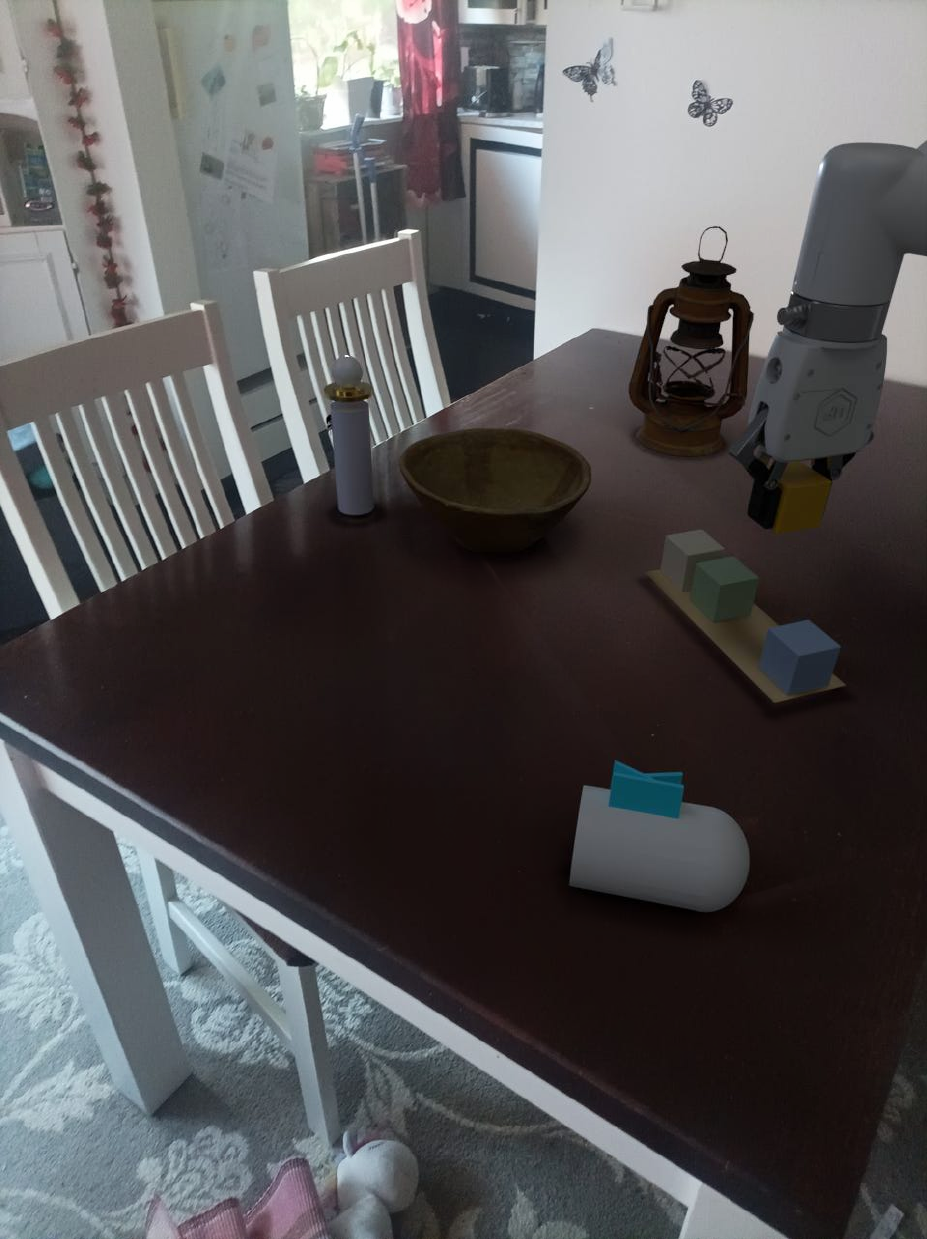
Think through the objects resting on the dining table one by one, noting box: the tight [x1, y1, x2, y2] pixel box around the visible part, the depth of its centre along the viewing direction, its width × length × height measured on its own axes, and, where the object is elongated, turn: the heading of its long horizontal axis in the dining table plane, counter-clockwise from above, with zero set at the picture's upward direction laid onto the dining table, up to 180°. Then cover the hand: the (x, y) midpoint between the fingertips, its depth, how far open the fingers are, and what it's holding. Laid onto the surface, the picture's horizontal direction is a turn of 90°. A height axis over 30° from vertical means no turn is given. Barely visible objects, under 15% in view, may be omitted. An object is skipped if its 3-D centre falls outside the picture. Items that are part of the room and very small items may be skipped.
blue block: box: [758, 619, 842, 696], centre depth 81 cm, size 5×5×5 cm
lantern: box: [628, 225, 755, 458], centre depth 123 cm, size 17×13×30 cm
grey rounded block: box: [568, 759, 751, 913], centre depth 64 cm, size 12×9×12 cm
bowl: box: [398, 427, 592, 555], centre depth 103 cm, size 22×23×10 cm
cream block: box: [660, 529, 726, 592], centre depth 95 cm, size 5×5×5 cm
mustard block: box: [767, 461, 833, 535], centre depth 79 cm, size 5×5×5 cm
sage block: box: [690, 556, 760, 623], centre depth 91 cm, size 5×5×5 cm
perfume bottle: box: [323, 355, 375, 516], centre depth 105 cm, size 6×6×20 cm
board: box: [644, 568, 847, 704], centre depth 90 cm, size 8×24×1 cm, turn 19°
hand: (784, 516), depth 80 cm, fingers closed on mustard block, 4 cm apart
